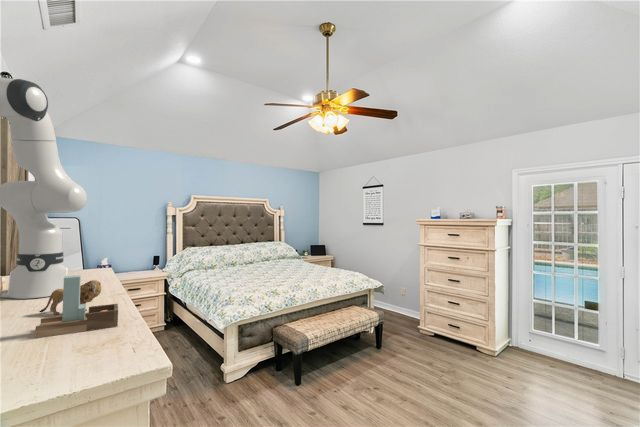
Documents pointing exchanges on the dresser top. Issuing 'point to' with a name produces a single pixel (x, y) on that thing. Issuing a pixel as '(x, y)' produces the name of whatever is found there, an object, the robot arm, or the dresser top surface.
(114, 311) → the dark brown open box
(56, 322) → the lane
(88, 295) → the lion figurine
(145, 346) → the dresser top surface
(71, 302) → the grey-green l-shaped block
